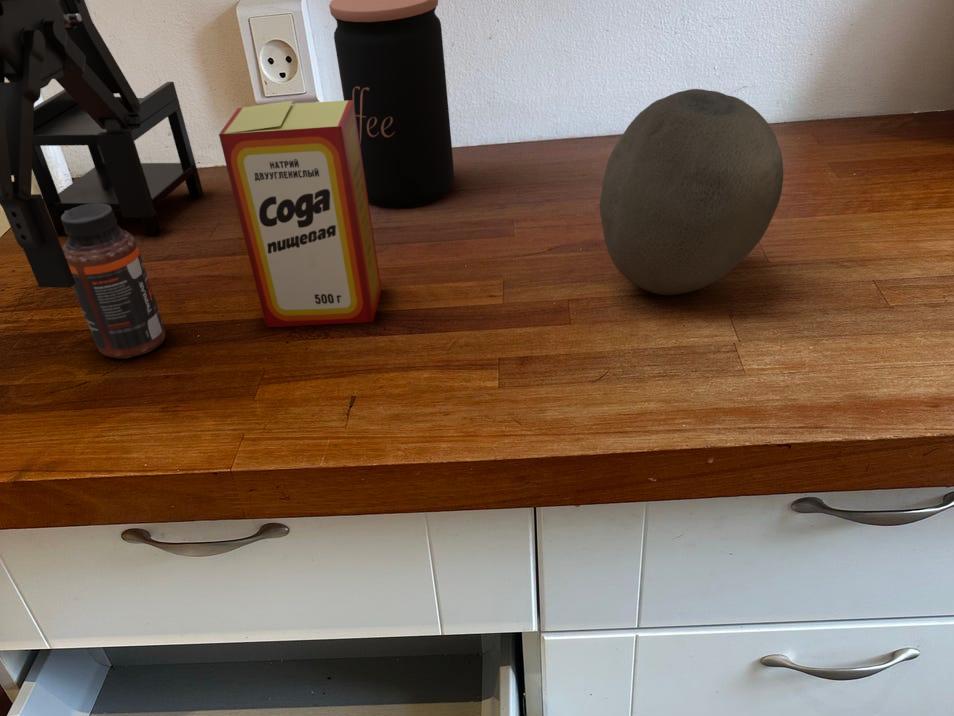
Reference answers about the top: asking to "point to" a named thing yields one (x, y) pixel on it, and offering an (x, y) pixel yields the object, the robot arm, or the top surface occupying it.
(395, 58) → the coffee jar
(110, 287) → the supplement bottle
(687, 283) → the dark grey oval lump
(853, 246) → the top surface
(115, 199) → the rack
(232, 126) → the baking soda box
